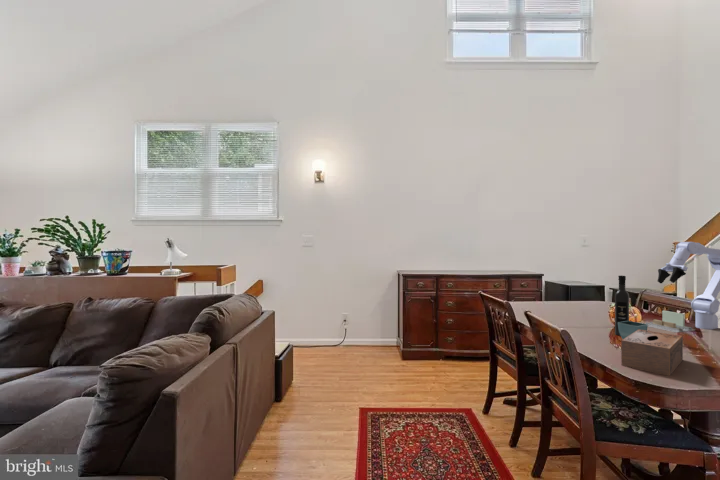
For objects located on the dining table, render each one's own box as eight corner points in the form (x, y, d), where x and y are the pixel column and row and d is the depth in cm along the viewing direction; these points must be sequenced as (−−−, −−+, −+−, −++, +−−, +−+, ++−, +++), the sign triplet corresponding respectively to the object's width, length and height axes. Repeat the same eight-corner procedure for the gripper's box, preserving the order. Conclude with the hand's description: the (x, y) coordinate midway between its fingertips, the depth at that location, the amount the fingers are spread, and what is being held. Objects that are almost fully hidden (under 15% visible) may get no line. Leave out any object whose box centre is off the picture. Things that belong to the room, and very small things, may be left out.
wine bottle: (628, 336, 182) (628, 276, 182) (614, 335, 186) (614, 275, 185) (629, 334, 187) (629, 275, 186) (615, 332, 190) (615, 275, 190)
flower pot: (616, 340, 175) (616, 322, 175) (627, 338, 179) (627, 320, 179) (637, 345, 167) (637, 326, 167) (648, 343, 171) (648, 324, 171)
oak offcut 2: (666, 328, 195) (666, 321, 195) (675, 330, 191) (675, 323, 191) (663, 328, 195) (663, 321, 194) (673, 330, 190) (673, 323, 190)
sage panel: (663, 324, 202) (663, 310, 202) (684, 329, 193) (684, 314, 193) (662, 325, 202) (662, 310, 202) (683, 329, 192) (683, 314, 192)
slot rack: (662, 325, 206) (662, 320, 206) (695, 332, 191) (695, 327, 191) (643, 327, 202) (643, 322, 202) (675, 334, 186) (675, 329, 186)
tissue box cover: (638, 352, 159) (638, 329, 159) (682, 360, 148) (682, 335, 148) (621, 366, 142) (621, 340, 142) (669, 376, 131) (669, 348, 131)
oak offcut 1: (655, 325, 200) (655, 319, 200) (664, 327, 196) (664, 321, 196) (652, 326, 200) (652, 319, 200) (661, 328, 195) (661, 321, 195)
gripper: (660, 258, 199) (647, 278, 198) (683, 254, 185) (670, 276, 183) (671, 265, 199) (659, 286, 197) (695, 263, 184) (682, 285, 183)
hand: (665, 282), depth 190 cm, fingers open, 7 cm apart
